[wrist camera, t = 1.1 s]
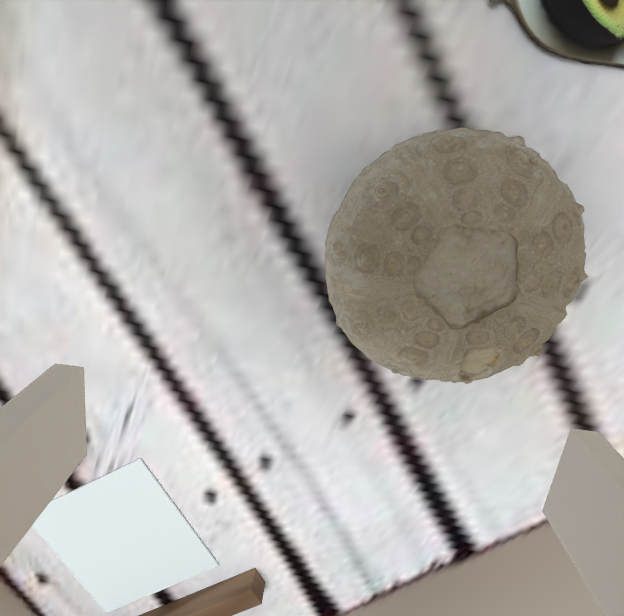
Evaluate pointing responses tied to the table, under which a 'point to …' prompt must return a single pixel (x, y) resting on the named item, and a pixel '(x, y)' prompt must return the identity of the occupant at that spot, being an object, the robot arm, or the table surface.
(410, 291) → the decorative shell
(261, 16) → the table surface
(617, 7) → the salad plate
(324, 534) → the table surface
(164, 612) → the strip
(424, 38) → the table surface
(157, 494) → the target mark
